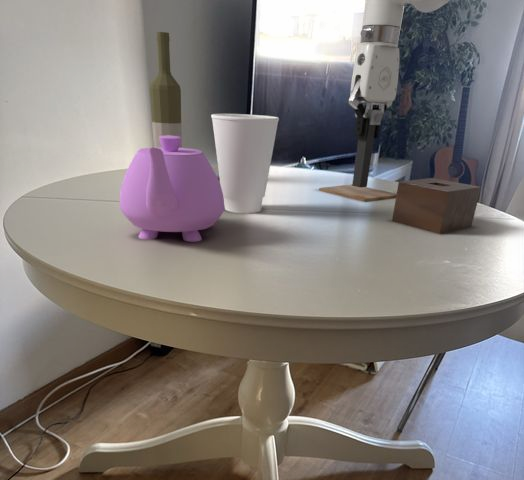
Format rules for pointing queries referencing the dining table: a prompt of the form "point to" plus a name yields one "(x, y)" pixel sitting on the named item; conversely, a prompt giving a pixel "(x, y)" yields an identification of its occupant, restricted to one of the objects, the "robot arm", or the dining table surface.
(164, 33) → the bottle
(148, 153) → the teapot
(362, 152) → the long square rod
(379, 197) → the wooden board
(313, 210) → the dining table surface
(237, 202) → the cup
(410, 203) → the holder
